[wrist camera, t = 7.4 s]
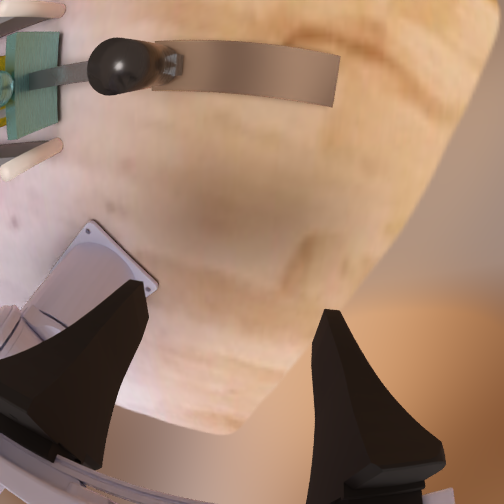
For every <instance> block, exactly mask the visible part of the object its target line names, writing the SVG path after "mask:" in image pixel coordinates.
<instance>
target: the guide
mask: <svg viewBox="0 0 504 504" xmlns="http://www.w3.org/2000/svg"><path fill="white" fill-rule="evenodd" d="M155 43H157V44H162V45H167V46H169V47H171V48H172V49H174V50H175V52H176V53H177V54H181V55H184V57H183V69H182V76H175V77H174V79H173V80H172V81H170V82H169V83H167V84H165V85H163V86H158V87H152V91H201V92H219V93H233V94H244V95H254V96H263V97H271V98H279V99H286V100H293V101H299V102H305V103H311V104H317V105H322V106H328V107H333V101H334V95H335V89H336V83H337V76H338V70H339V63H340V56H338V55H333V54H328V53H323V52H318V51H313V50H307V49H301V48H294V47H287V46H280V45H272V44H262V43H252V42H238V41H218V40H173V41H155Z"/></svg>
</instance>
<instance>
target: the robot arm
mask: <svg viewBox="0 0 504 504" xmlns="http://www.w3.org/2000/svg"><path fill="white" fill-rule="evenodd" d="M88 229H89V230H90V231H91V232H90V231H89V230H88ZM147 287H149V288H150V289H149V288H147ZM157 288H158V283H157V282H156V281H155V280H154V279H153V278H152V277H151V276H150V275H149V274H148V273H147V272H146V271H144V270H143V269H142V268H141V267H140V266H139V265H138V264H137V263H136V262H135V261H134V260H133V259H132V258H131V257H130V256H129V255H128V254H127V253H126V252H125V251H124V250H123V249H122V248H121V247H120V246H119V245H118V244H117V243H116V242H115V241H114V240H113V239H112V238H111V237H110V236H109V235H108V234H107V233H106V232H105V231H104V230H103V229H102V228H101V227H100V226H99V225H98V224H97V223H96V222H95V221H92V220H91V221H89V222H88V223H87V224H86V225H85V226H84V228H83V229H82V230H81V231H80V233H79V234H78V235H77V236H76V238H75V239H74V240H73V242H72V243H71V244H70V245H69V247H68V248H67V249H66V251H65V252H64V253H63V255H62V256H61V257H60V259H59V260H58V261H57V263H56V264H55V266H54V267H53V268H52V270H51V271H50V273H49V276H48V277H47V278H46V280H45V281H44V282H43V283H42V284H41V286H40V287H39V288H38V289H37V290H36V292H35V293H34V294H33V295H32V297H31V298H30V299H29V300H28V302H27V303H26V304H25V306H24V307H23V308H22V309H21V310H19V309H18V307H17V306H16V305H12V306H6V305H5V306H3V307H1V308H0V494H1V492H2V491H3V490H4V488H6V489H8V490H9V491H10V492H12V493H13V494H14V495H16V496H17V497H19V498H20V499H22V500H23V501H25V502H26V503H27V504H118V503H116V502H114V501H112V500H111V499H109V498H108V497H105V496H103V495H101V494H98V493H96V492H94V491H92V490H89V489H87V488H86V486H85V485H88V486H90V487H93V488H95V489H98V490H100V491H103V492H106V493H108V494H111V495H113V496H116V497H119V498H122V499H125V500H128V501H131V502H134V503H137V504H214V503H208V502H203V501H197V500H192V499H188V498H183V497H178V496H174V495H170V494H166V493H162V492H158V491H154V490H151V489H147V488H144V487H140V486H137V485H134V484H131V483H128V482H124V481H121V480H119V479H116V478H113V477H110V476H108V475H105V474H102V473H99V472H97V471H95V470H98V469H100V468H102V461H103V455H104V449H105V443H106V438H107V433H108V428H109V424H110V420H111V416H112V412H113V408H114V405H115V402H116V398H117V395H118V392H119V389H120V386H121V383H122V381H123V379H124V376H125V374H126V372H127V370H128V368H129V365H130V363H131V361H132V359H133V357H134V355H135V353H136V350H137V348H138V346H139V344H140V342H141V340H142V337H143V334H144V331H145V328H146V325H147V322H148V319H149V315H148V309H147V303H146V297H148V296H149V295H150V294H152V293H153V292H155V291H156V290H157ZM311 361H312V362H311V367H312V381H313V394H314V407H315V431H314V446H313V458H312V467H311V475H310V482H309V489H308V495H307V500H306V504H455V500H454V492H453V488H448V489H444V490H440V491H436V492H432V493H429V494H425V495H423V496H422V491H421V490H422V489H424V488H425V481H424V480H425V479H427V478H429V477H430V476H432V475H434V474H436V473H437V472H439V471H440V470H442V469H443V468H444V467H445V465H446V460H445V454H444V449H443V446H442V442H441V441H440V440H438V439H437V438H436V437H435V436H433V435H432V434H431V433H429V432H428V431H427V430H426V429H425V428H423V427H422V426H421V425H420V424H419V423H418V422H417V421H416V420H415V419H414V418H412V416H411V415H409V413H407V412H406V410H405V409H404V408H403V407H402V406H401V405H400V404H399V403H398V402H397V401H396V399H395V398H394V397H393V396H392V395H391V394H390V392H389V391H388V390H387V389H386V387H385V386H384V385H383V383H382V382H381V381H380V379H379V378H378V376H377V375H376V373H375V372H374V370H373V369H372V367H371V366H370V365H369V363H368V361H367V359H366V358H365V356H364V354H363V353H362V351H361V350H360V348H359V346H358V344H357V343H356V340H355V339H354V337H353V335H352V333H351V331H350V329H349V328H348V326H347V324H346V322H345V320H344V318H343V316H342V314H341V312H340V311H339V310H330V309H324V312H323V314H322V317H321V320H320V323H319V326H318V328H317V331H316V334H315V336H314V339H313V342H312V360H311Z"/></svg>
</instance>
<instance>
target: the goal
mask: <svg viewBox="0 0 504 504" xmlns="http://www.w3.org/2000/svg"><path fill="white" fill-rule="evenodd" d="M65 10H66V7H65V5H64V4H60V3H52V2H44V1H34V0H2V1H1V3H0V37H3V36H5V35H7V34H10V33H12V32H15V31H17V30H20V29H22V28H25V27H27V26H30V25H33V24H36V23H38V22H41V21H44V20H47V19H50V18H60V17H62V16H63V14H64V13H65ZM62 148H63V143H62V141H61V140H60V139H59V138H55V139H52V140H50V141H38V142H25V143H14V144H4V145H0V176H1V178H2V180H3V181H5V182H9V181H10V180H12V179H13V178H15V177H17V176H18V175H20V174H22V173H23V172H25V171H27V170H28V169H30V168H32V167H33V166H35V165H37V164H39V163H41V162H42V161H44V160H46V159H48V158H50V157H51V156H53V155H55V154H57V153H59V152H61V151H62Z"/></svg>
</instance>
